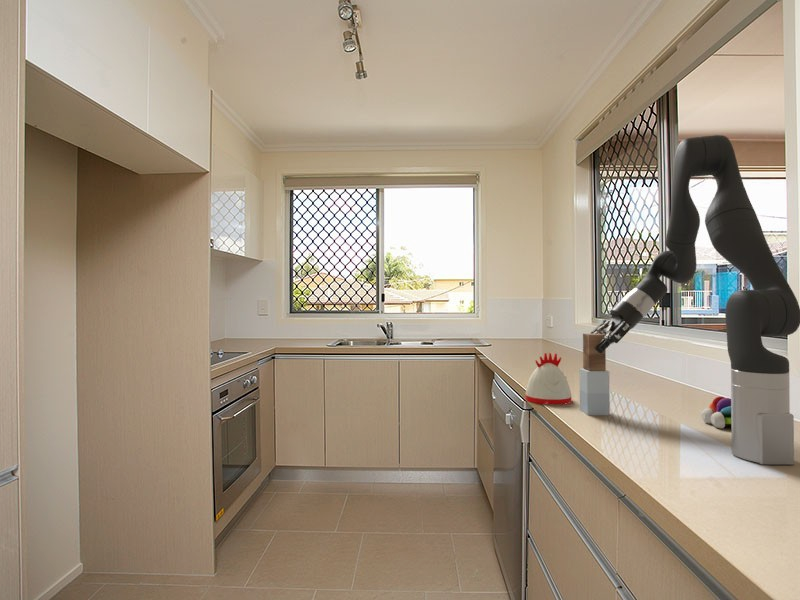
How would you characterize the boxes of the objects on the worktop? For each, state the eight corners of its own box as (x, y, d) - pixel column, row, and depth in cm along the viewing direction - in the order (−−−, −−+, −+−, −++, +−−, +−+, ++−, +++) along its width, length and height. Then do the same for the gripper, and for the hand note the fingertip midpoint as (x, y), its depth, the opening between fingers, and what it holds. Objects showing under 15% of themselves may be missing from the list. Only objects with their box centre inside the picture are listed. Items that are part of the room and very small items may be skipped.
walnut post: (605, 371, 129) (605, 334, 129) (589, 371, 129) (588, 334, 129) (599, 368, 134) (598, 333, 134) (583, 368, 134) (582, 333, 134)
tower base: (609, 415, 128) (609, 393, 128) (587, 415, 129) (587, 393, 129) (600, 410, 134) (600, 389, 134) (579, 410, 135) (579, 389, 135)
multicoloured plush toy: (732, 421, 121) (731, 393, 121) (756, 432, 111) (756, 401, 111) (697, 421, 122) (697, 393, 122) (718, 431, 112) (718, 401, 112)
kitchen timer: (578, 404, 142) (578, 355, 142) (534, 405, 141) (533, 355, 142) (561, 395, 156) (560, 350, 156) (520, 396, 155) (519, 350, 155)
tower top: (609, 393, 128) (609, 371, 128) (587, 393, 129) (587, 371, 129) (600, 389, 134) (600, 368, 134) (579, 389, 135) (579, 368, 135)
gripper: (611, 299, 139) (572, 338, 139) (634, 298, 124) (591, 342, 124) (629, 317, 138) (591, 356, 139) (655, 318, 124) (611, 362, 124)
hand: (591, 349), depth 132 cm, fingers open, 8 cm apart
